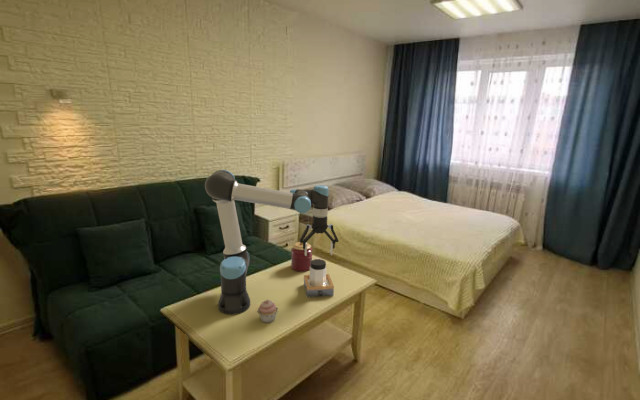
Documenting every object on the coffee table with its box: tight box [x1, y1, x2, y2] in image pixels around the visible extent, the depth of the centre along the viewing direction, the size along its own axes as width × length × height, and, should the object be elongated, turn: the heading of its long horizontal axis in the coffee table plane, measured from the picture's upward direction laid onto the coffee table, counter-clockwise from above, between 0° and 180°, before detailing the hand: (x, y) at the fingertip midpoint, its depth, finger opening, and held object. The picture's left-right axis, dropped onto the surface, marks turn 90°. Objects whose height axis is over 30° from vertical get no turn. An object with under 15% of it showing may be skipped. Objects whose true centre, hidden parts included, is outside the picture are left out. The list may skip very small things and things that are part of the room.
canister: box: [290, 241, 313, 272], centre depth 203 cm, size 13×13×18 cm
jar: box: [309, 258, 327, 286], centre depth 176 cm, size 9×8×12 cm
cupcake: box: [257, 299, 279, 324], centre depth 150 cm, size 9×9×10 cm
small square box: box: [303, 273, 335, 298], centre depth 178 cm, size 14×15×6 cm
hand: (318, 254), depth 174 cm, fingers open, 13 cm apart
